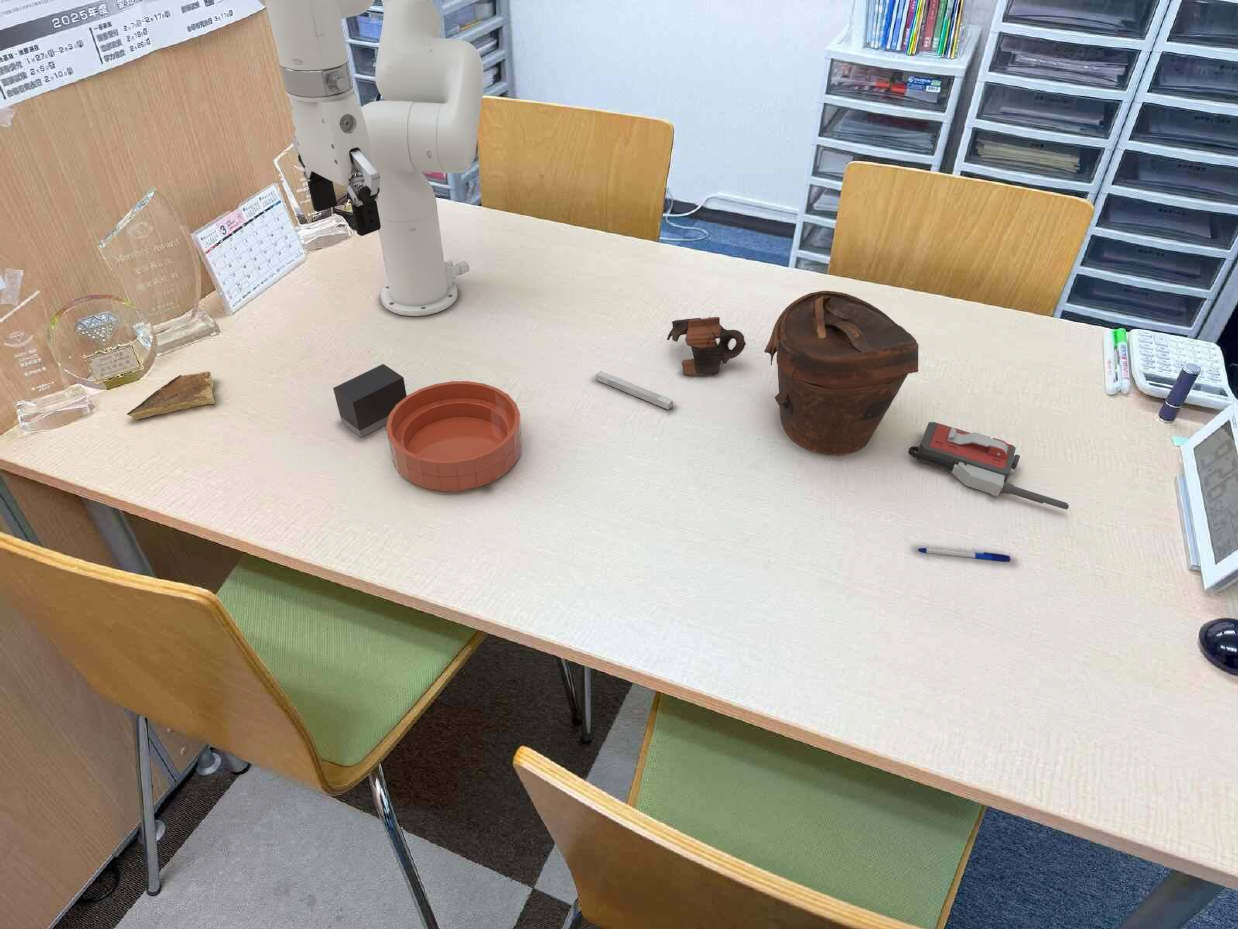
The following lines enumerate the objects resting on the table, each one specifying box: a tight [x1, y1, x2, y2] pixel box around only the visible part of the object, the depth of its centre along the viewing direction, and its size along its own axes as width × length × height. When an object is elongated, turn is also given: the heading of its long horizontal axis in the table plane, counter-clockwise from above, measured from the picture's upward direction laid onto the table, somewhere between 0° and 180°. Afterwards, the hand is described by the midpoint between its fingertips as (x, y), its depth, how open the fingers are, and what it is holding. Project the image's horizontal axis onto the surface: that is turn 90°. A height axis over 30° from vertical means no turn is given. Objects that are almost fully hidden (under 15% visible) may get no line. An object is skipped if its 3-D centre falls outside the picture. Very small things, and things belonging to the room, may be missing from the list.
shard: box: [126, 370, 216, 421], centre depth 116 cm, size 11×8×2 cm
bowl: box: [385, 380, 523, 492], centre depth 107 cm, size 17×17×6 cm
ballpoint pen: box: [917, 547, 1011, 563], centre depth 97 cm, size 10×1×1 cm, turn 84°
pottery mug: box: [666, 316, 747, 376], centre depth 125 cm, size 12×10×8 cm
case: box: [764, 290, 920, 456], centre depth 109 cm, size 18×20×18 cm
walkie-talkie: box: [907, 421, 1070, 510], centre depth 107 cm, size 9×4×20 cm
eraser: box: [332, 363, 408, 439], centre depth 112 cm, size 8×5×6 cm, turn 137°
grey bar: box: [596, 370, 674, 411], centre depth 119 cm, size 12×1×1 cm, turn 56°
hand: (347, 219), depth 106 cm, fingers open, 9 cm apart
